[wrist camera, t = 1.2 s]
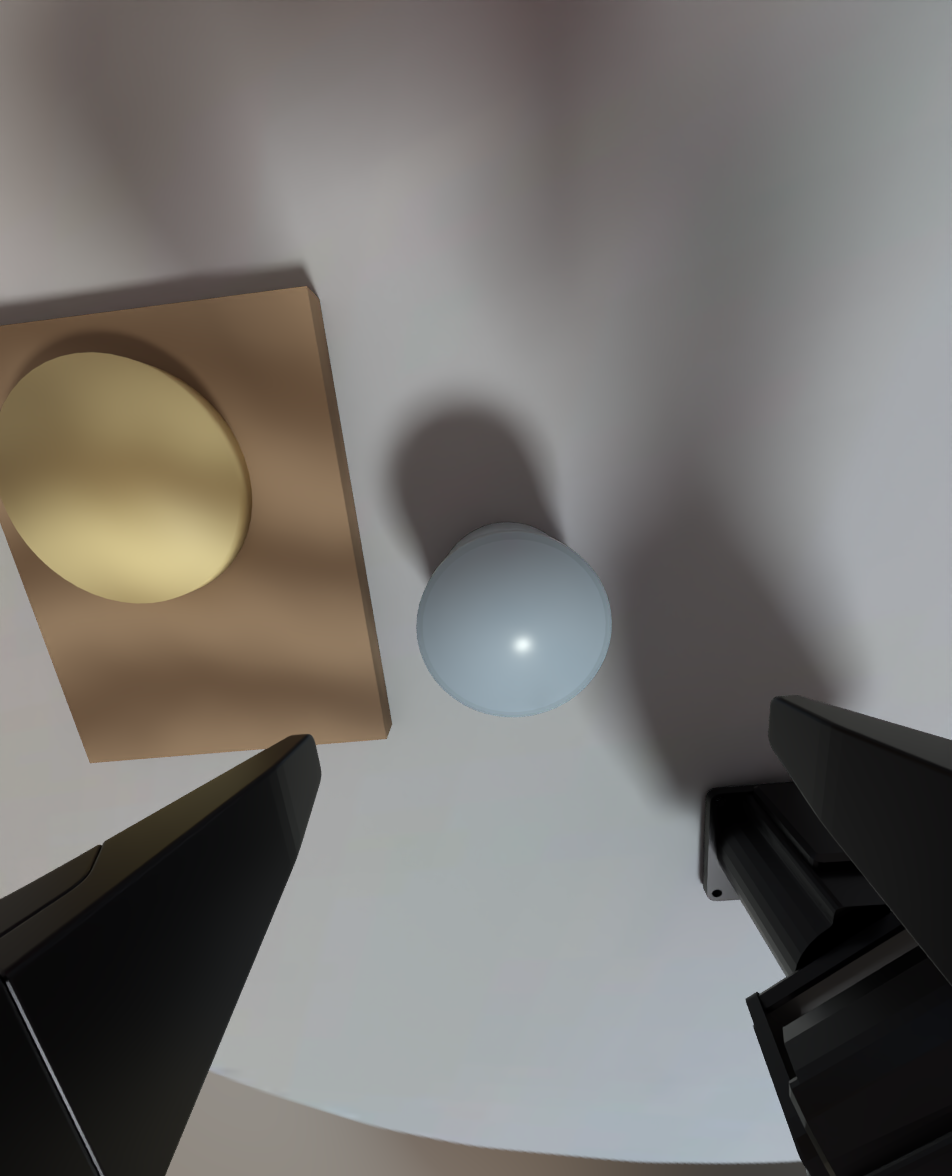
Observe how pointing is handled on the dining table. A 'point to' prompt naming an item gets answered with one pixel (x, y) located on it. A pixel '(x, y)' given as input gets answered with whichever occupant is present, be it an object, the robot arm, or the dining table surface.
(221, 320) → the base
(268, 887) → the robot arm
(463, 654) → the cap
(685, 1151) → the dining table surface
